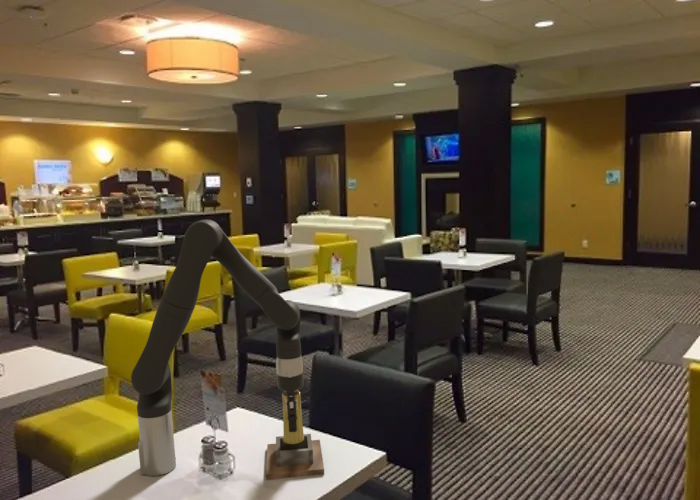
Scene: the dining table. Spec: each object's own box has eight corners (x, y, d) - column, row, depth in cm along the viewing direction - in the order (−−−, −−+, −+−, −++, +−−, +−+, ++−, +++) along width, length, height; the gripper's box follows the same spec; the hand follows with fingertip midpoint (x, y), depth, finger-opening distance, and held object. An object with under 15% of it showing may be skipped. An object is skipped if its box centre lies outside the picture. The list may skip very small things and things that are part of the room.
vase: (294, 446, 166) (291, 398, 164) (278, 441, 170) (276, 394, 168) (308, 438, 171) (306, 391, 169) (292, 433, 175) (290, 387, 173)
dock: (266, 479, 162) (265, 460, 161) (267, 448, 179) (266, 431, 179) (324, 474, 163) (323, 455, 163) (319, 444, 181) (319, 427, 180)
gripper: (276, 363, 174) (279, 417, 177) (276, 380, 160) (279, 439, 162) (302, 361, 175) (304, 415, 177) (303, 378, 161) (306, 436, 163)
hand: (292, 426), depth 170 cm, fingers closed on vase, 5 cm apart
